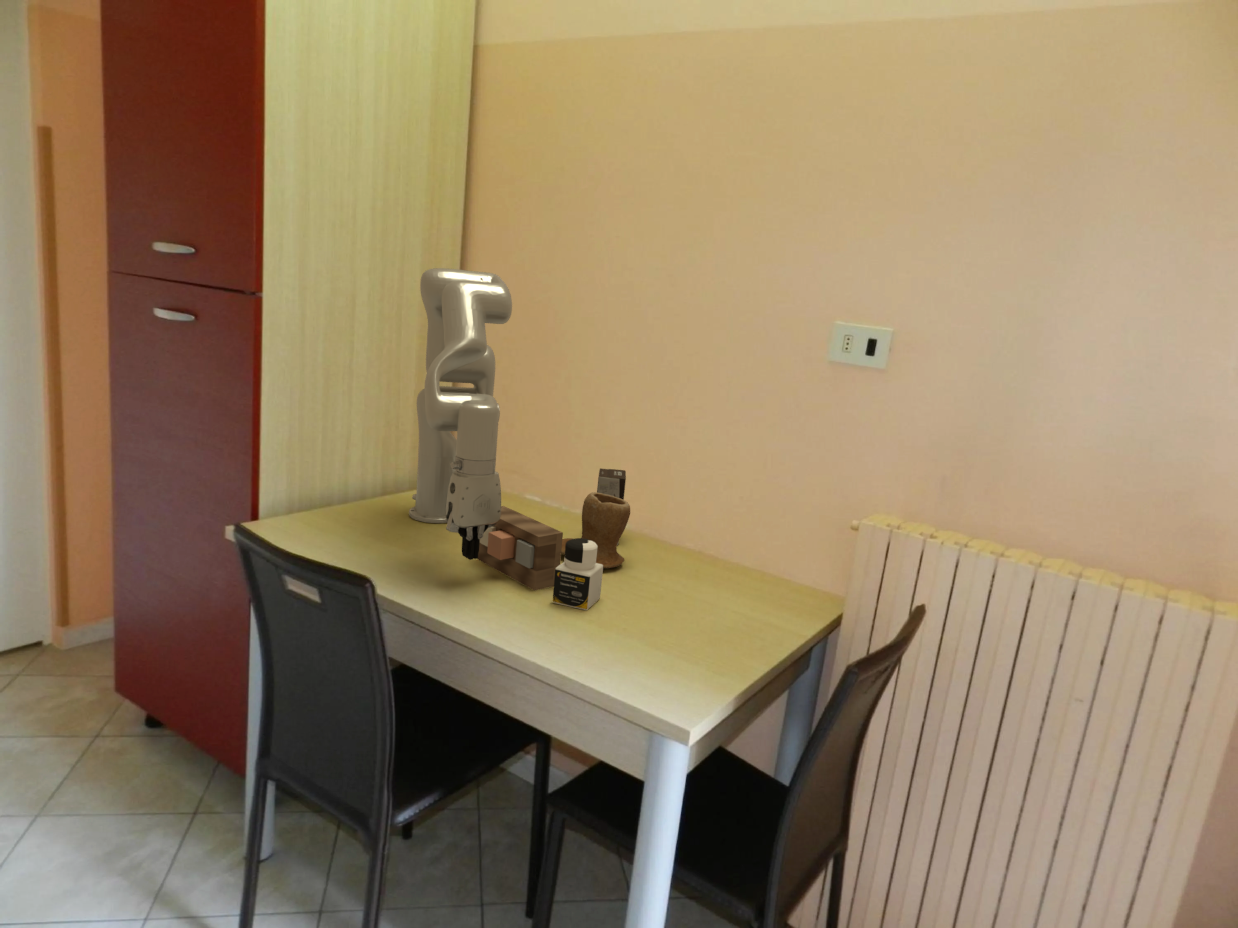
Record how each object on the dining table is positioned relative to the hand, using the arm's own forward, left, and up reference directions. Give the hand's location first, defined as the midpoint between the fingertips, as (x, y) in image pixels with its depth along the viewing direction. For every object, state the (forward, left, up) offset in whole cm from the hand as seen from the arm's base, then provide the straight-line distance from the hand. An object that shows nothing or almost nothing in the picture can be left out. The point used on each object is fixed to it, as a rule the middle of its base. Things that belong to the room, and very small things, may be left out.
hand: (469, 557), depth 165 cm
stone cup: (+2, +31, -5) cm, 31 cm away
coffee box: (-8, +44, -5) cm, 45 cm away
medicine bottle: (+18, +13, -5) cm, 23 cm away
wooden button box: (0, +12, -5) cm, 13 cm away
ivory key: (-7, +10, -1) cm, 12 cm away
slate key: (+6, +10, -1) cm, 12 cm away
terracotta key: (0, +8, -1) cm, 8 cm away
